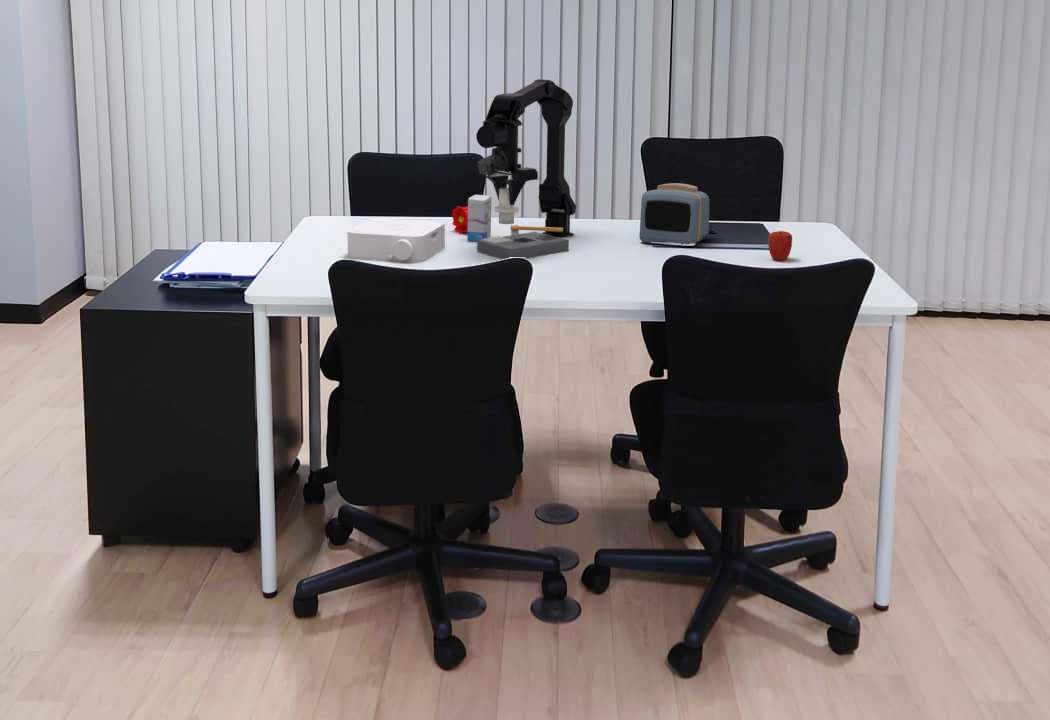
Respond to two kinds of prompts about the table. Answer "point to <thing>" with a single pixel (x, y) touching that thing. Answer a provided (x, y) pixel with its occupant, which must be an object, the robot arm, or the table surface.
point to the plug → (505, 207)
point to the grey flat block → (522, 245)
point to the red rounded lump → (780, 245)
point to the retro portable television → (674, 214)
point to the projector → (396, 240)
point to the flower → (460, 219)
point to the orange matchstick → (535, 228)
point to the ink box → (479, 217)
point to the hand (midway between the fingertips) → (506, 203)
